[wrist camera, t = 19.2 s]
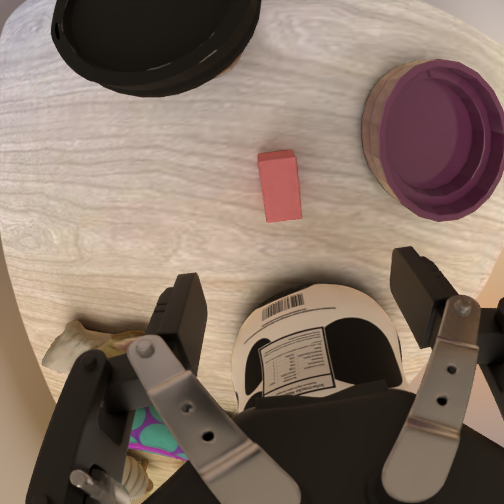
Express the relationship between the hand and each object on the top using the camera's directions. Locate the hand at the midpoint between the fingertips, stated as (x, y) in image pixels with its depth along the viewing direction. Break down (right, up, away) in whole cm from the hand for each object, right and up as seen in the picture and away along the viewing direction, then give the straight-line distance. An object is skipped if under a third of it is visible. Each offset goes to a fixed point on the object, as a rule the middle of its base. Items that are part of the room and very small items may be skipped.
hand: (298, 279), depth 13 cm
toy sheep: (-29, -42, +41) cm, 66 cm away
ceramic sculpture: (-19, -10, +24) cm, 32 cm away
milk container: (+5, -8, +22) cm, 24 cm away
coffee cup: (-5, +17, +8) cm, 20 cm away
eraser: (0, +7, +14) cm, 15 cm away
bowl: (+14, +12, +11) cm, 21 cm away
